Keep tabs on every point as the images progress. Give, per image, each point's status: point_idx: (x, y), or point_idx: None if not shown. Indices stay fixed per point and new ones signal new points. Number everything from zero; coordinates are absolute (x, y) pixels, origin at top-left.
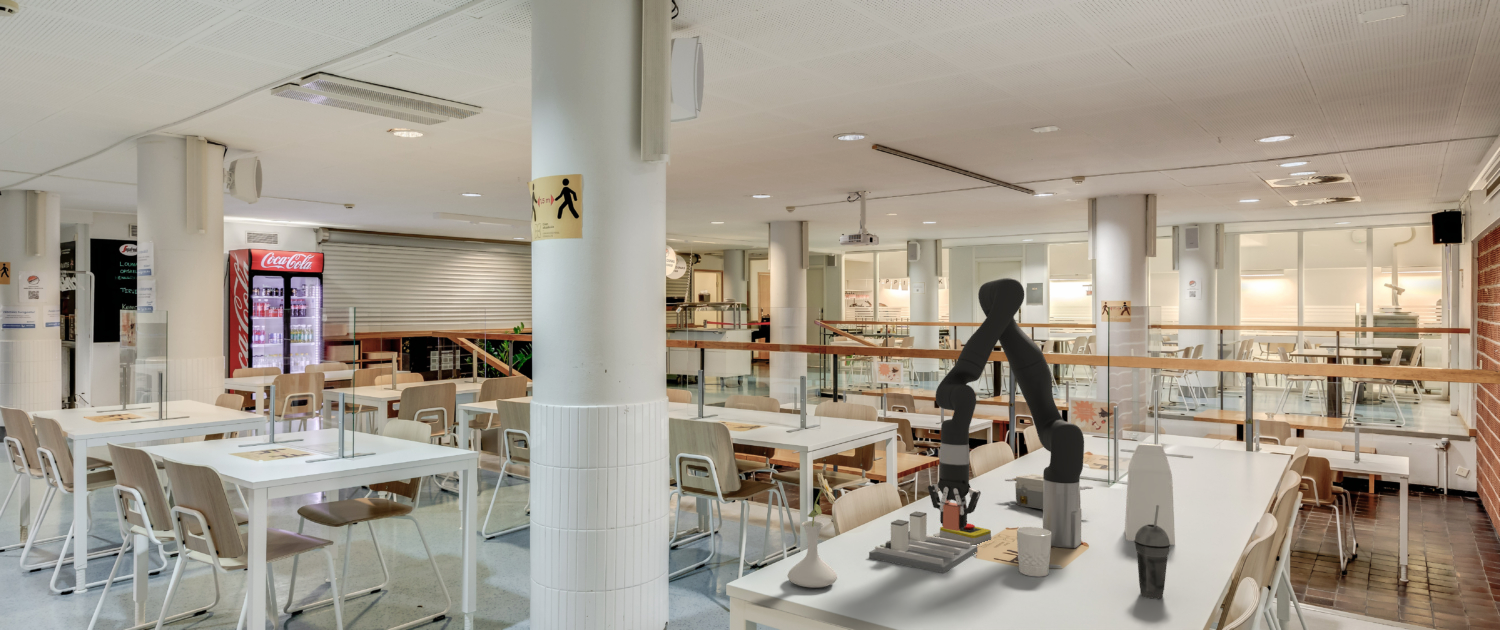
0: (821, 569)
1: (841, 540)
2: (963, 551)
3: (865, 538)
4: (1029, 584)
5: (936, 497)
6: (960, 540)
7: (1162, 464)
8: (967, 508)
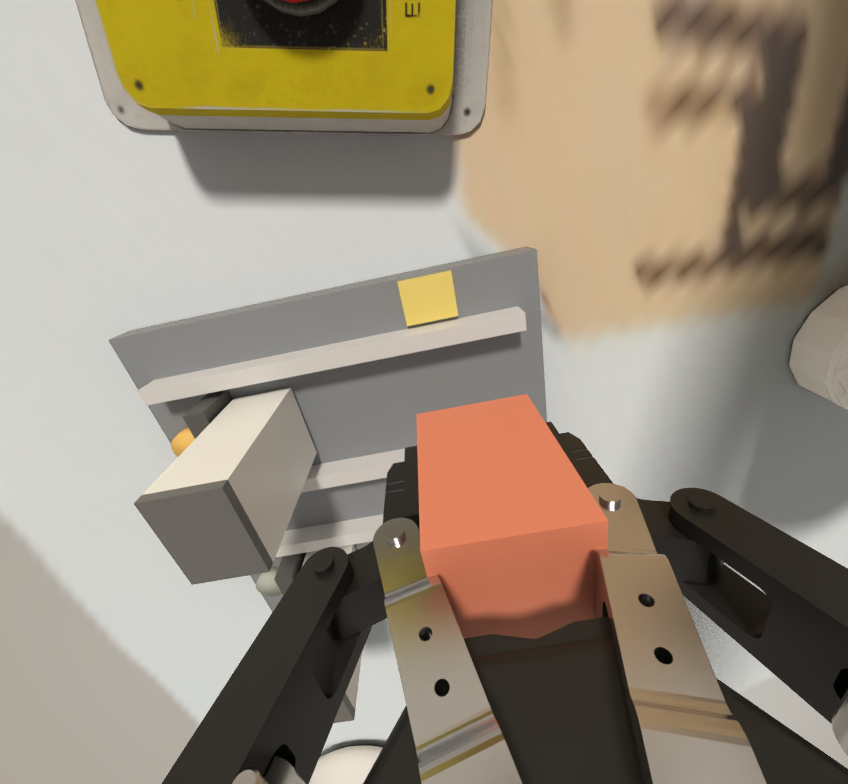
0: None
1: (39, 543)
2: (522, 390)
3: (40, 463)
4: (840, 467)
5: (323, 696)
6: (343, 127)
7: None
8: (692, 599)
